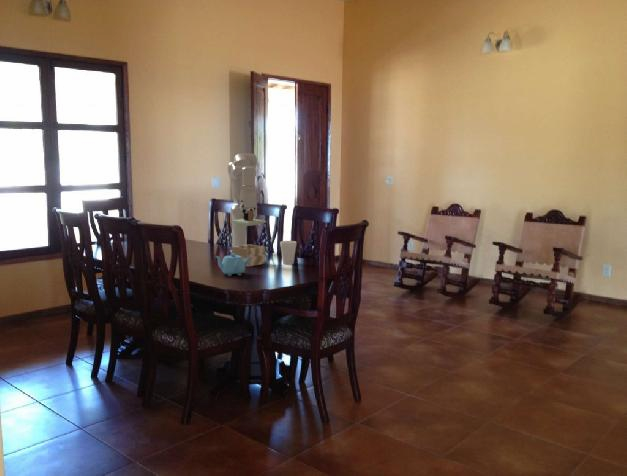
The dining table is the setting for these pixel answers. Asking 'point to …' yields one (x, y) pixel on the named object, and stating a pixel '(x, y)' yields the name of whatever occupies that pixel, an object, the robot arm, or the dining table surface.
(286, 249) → the foam cup
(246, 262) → the teapot
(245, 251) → the box
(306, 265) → the dining table surface
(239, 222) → the lid
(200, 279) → the dining table surface
